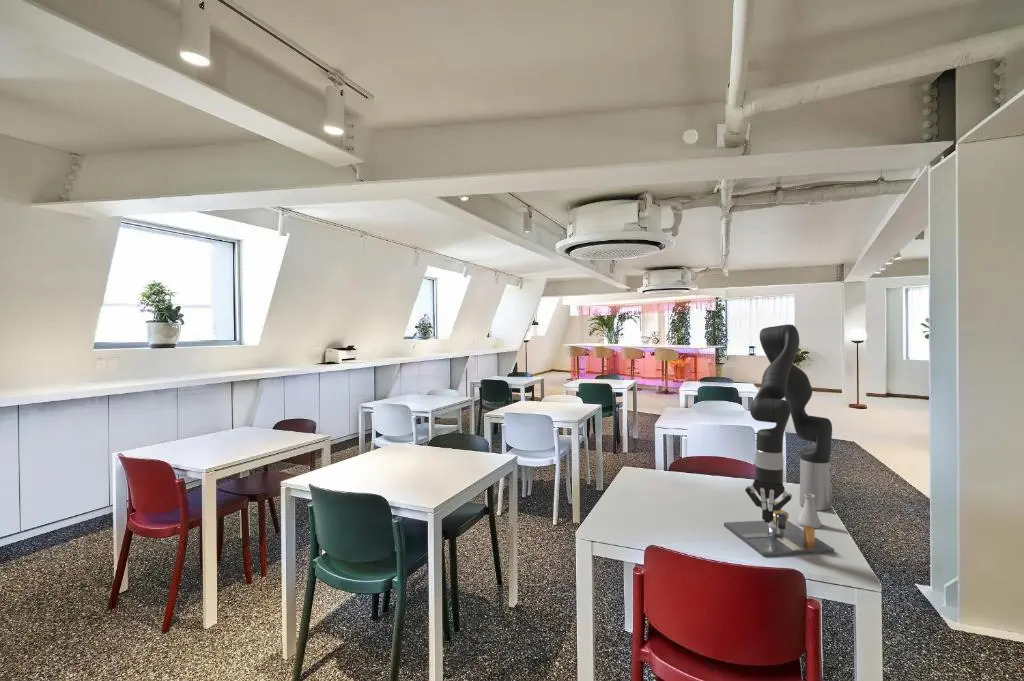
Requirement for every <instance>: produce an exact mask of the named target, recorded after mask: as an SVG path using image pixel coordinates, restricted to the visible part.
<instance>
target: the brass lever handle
mask: <svg viewBox="0 0 1024 681" xmlns="http://www.w3.org/2000/svg"><path fill="white" fill-rule="evenodd" d="M779 502H780V501H775V502H774V505H777V504H778V503H779ZM782 508H783V507H782ZM782 508H781V509H780V510H778V511H777V510H774V514H773V519H774V521H775V524H776V527H777V528H780V529H786V528H787V521H788V520H789V518H790V516H789V513H788V512H787V511H786V510H783V509H782Z"/></svg>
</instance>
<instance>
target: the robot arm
mask: <svg viewBox="0 0 1024 681" xmlns="http://www.w3.org/2000/svg"><path fill="white" fill-rule="evenodd" d="M759 342H760V345H761V348H762V350H763V352H764V354H765V356H766V358H767V360H768V361H769V365H768V366H767V368H766V369H765V370H764V372H763V375H762V378H761V385H760V389H759V390H758V392H757V394H756V395H755V396H754V398H753V400H752V402H751V404H750V407H749V412H750V416H751V417H752V418H753V420H755V421H757V422H763V423H772V424H773V423H774V424H776V425H775V426H774V427H772V428H762V429H759V430H757V432H756V444H755V446H756V447H755V455H754V481H753V483H752V484H751V485H748V486H746V488H745V493H746V494H747V495H748V497H749V499H751V501H752V502H753V504H754V505H755V506H756V507H759V508H761V520H762V521H764V522H767V523H770V522H772V520H773V514H774V510H777V511H778V510H780V509H781V508H783V507H785V505H787V503H788V502H790V501H791V500H792V498H793V494H791V493H788V492H787V491H786V490H785V488H786V487H785V486H784V455H783V454H784V453H783V449H784V447H783V446H784V433H785V431H786V426H787V424H788V421H789V419H790V416H791V419H792V424H793V428H794V432H795V433H796V435H797V437H798V438H799V439H801V440H804V441H809V442H813V443H816V445H815V447H814V448H808V449H807V448H806V449H803V450H801V451H800V453H799V454H800V455H799V457H800V459H799V460H800V461H799V466H800V467H799V468H800V470H799V505H800V506H801V507H802V508H803V507H804V503H805V496H804V494H812V495H815V498H814V504H815V508H816V511H820V512H823V511H828V510H829V509H832V500H833V483H832V482H831V481H830V462H831V460H830V459H831V452H832V441H833V440H832V438H833V423H832V421H831V420H830V419H829V418H827V417H824V416H823V417H822V416H821V417H820V416H816V415H808V414H807V412H806V406H807V404H809V402H810V399H811V398H812V395H813V387H812V384H811V382H810V379H809V378H808V375H807V373H805V372H804V370H802V369H801V368H800V367H798V366H796V364H794V361H795V359H796V357H797V356H796V355H797V353H798V351H799V347H800V335H799V331H798V329H797V327H796V325H794V324H781V325H776V326H775V325H774V326H768V327H764V328H762V329H761V330H760V331H759ZM756 493H757V494H758V496H759V497H760V498H759V497H758V496H757V494H756ZM780 496H781V498H782V499H781V500H780V501H778V502H779V503H778V504H777V505H774V502H776V500H777V499H778V498H779V497H780ZM781 510H782V509H781Z"/></svg>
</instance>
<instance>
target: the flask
mask: <svg viewBox="0 0 1024 681" xmlns="http://www.w3.org/2000/svg"><path fill="white" fill-rule="evenodd" d="M804 496H805V503H804V507H803V506H802V509H801V512H800V514H799V516H798V518H797V520H796V522H797V523H798V525H799V526H802V527H804V526H811V527H812V528H814V529H820V528H821V527H822V526H823V525H822V523H821V519H820V518H819V515H818V512H817V511H818V510H816V508H815V504H814V498H815V495H812V494H804Z"/></svg>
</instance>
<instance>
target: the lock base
mask: <svg viewBox="0 0 1024 681" xmlns="http://www.w3.org/2000/svg"><path fill="white" fill-rule="evenodd" d="M723 527H724V528H726V529H727V530H728V531H729V532H731V533H732V534H733V535H735V536H736V537H737V538H739V539H740V540H741V541H742V542H744V543H745V544H747V546H749V547H750V548H752V549H753V551H755V552H757V553H758V554H759V555H760V556H762V557H763V558H765V557H781V556H782V557H787V556H801V555H817V554H820V555H821V554H835V548H833V547H832V546H830V545H829V544H827V543H825V542H824V541H822V540H820V539H819V538H818V537H815V533H816V532H815V529H816V528H812V527H811V526H803V528H801V527H799V526H797V525H796V524H794V523H792V522H790V521H789V520H787V528H786V529H780V528H777V527H776V524H775V521H774V519H773V520H772V522H770V523H767V522H764V520H750V521H749V520H748V521H747V520H746V521H730V522H724V523H723Z"/></svg>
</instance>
